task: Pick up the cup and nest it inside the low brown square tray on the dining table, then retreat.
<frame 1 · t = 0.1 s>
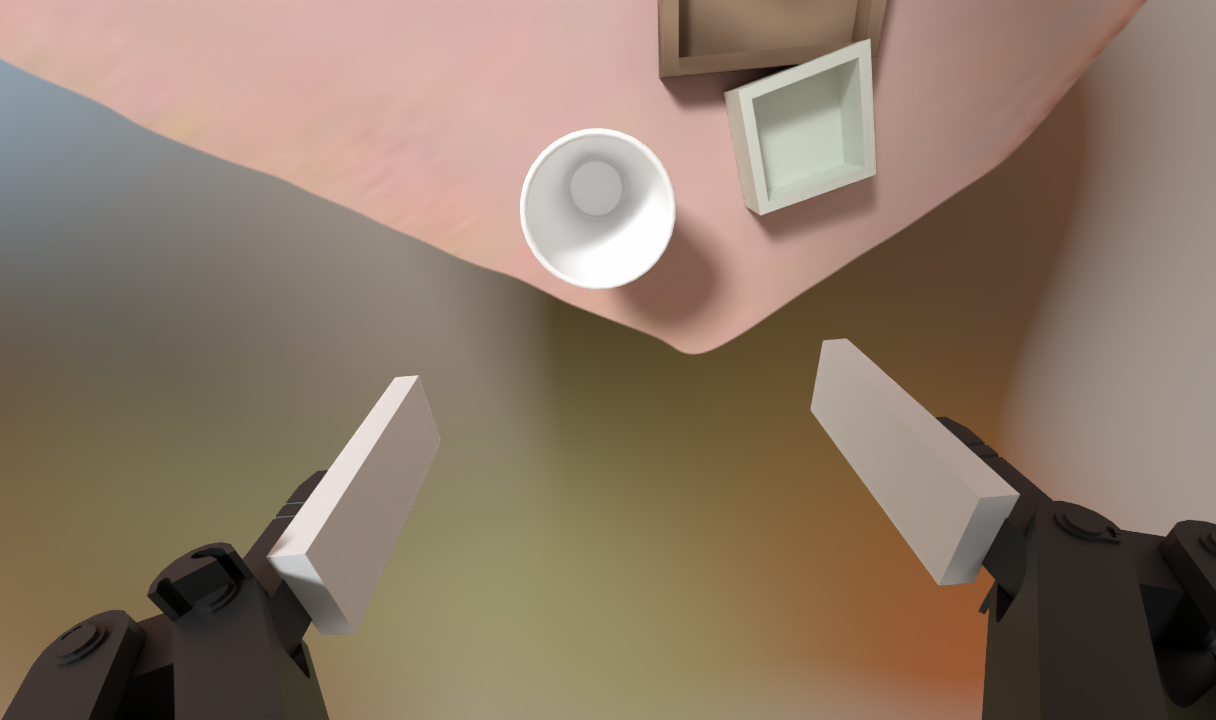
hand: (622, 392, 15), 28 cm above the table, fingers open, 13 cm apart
cup: (596, 187, 38), on the table
small crate: (789, 131, 36), on the table
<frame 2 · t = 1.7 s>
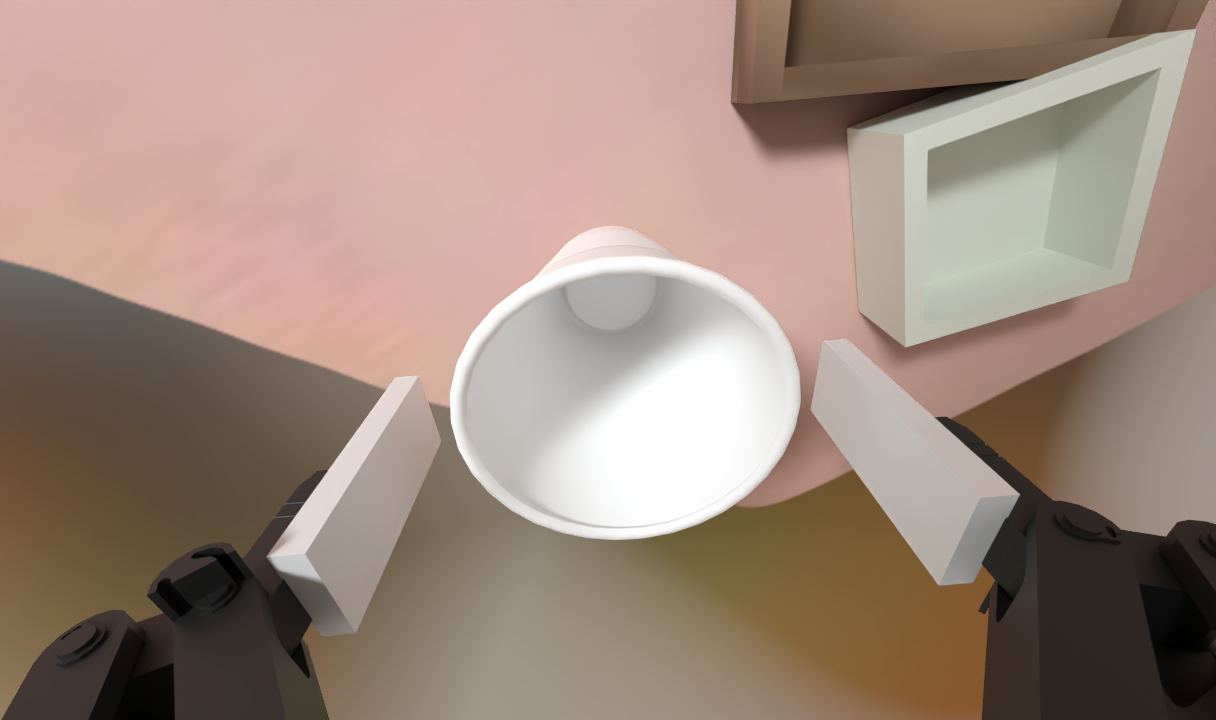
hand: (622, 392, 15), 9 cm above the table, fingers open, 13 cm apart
cup: (610, 285, 22), on the table
small crate: (953, 195, 20), on the table
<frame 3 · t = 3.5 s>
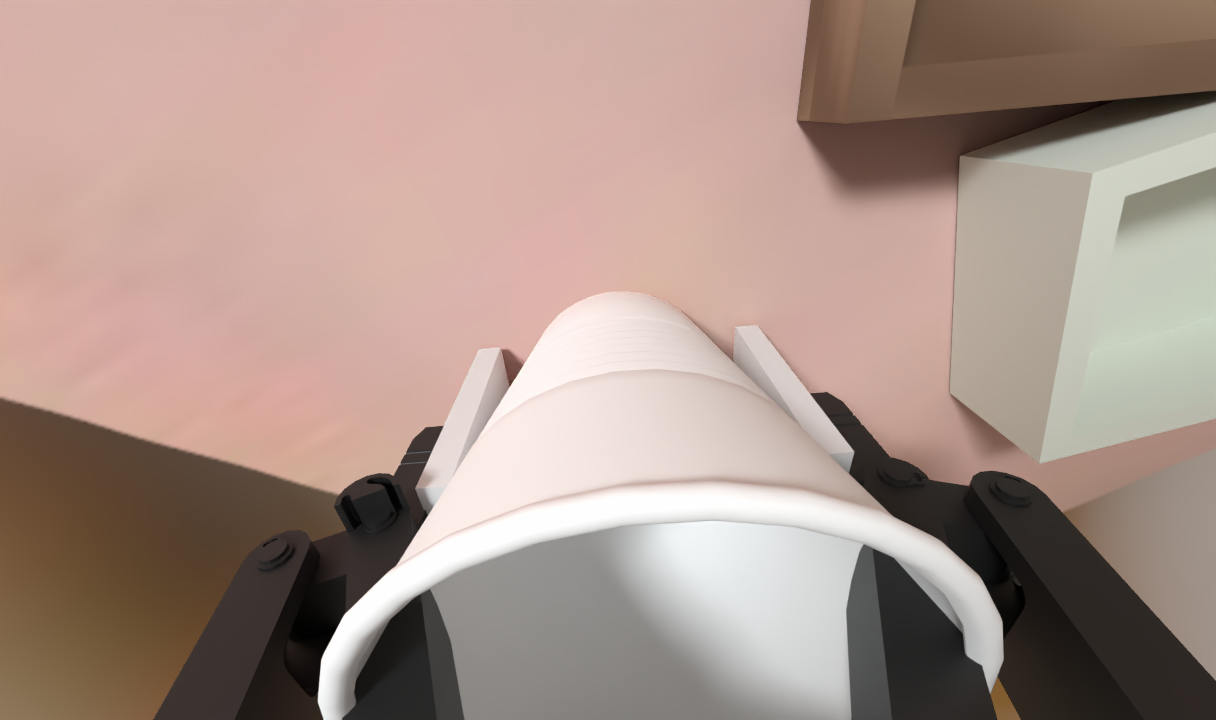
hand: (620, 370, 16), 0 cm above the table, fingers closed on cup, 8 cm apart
cup: (619, 363, 16), on the table, touching gripper
small crate: (1096, 246, 15), on the table
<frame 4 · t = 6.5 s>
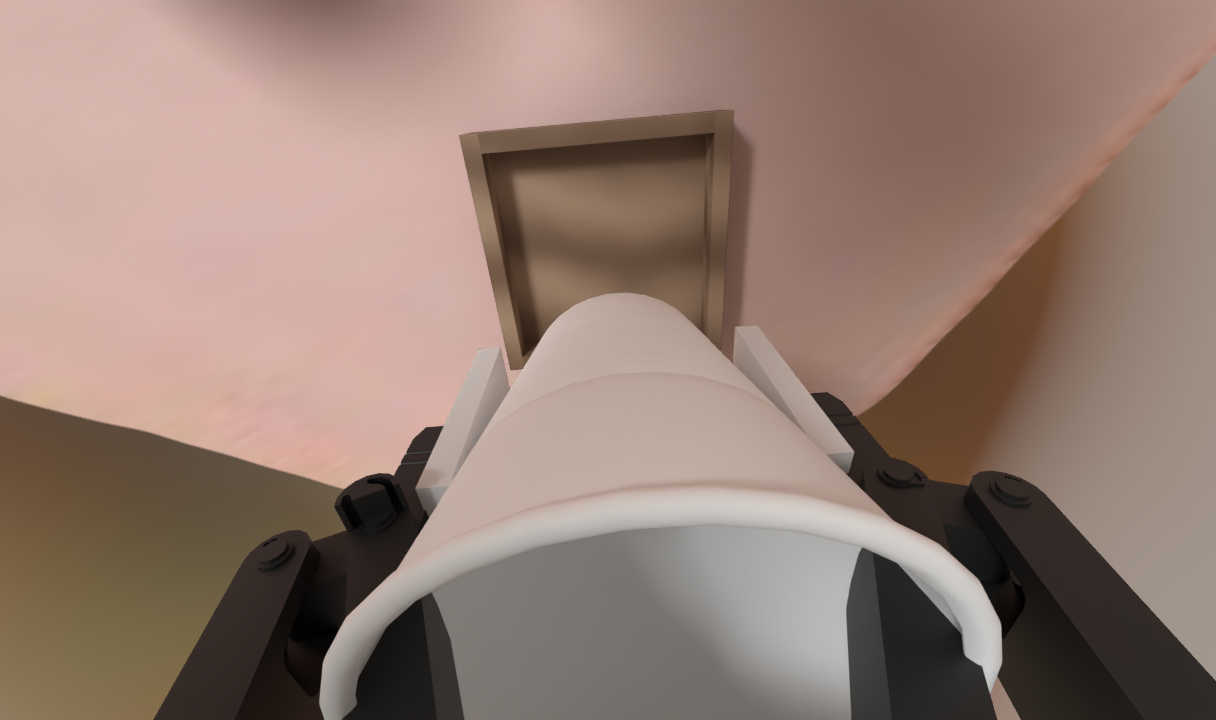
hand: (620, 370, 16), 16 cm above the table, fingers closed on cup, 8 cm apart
cup: (619, 364, 16), point 16 cm above the table, touching gripper
brown square tray: (605, 245, 30), on the table
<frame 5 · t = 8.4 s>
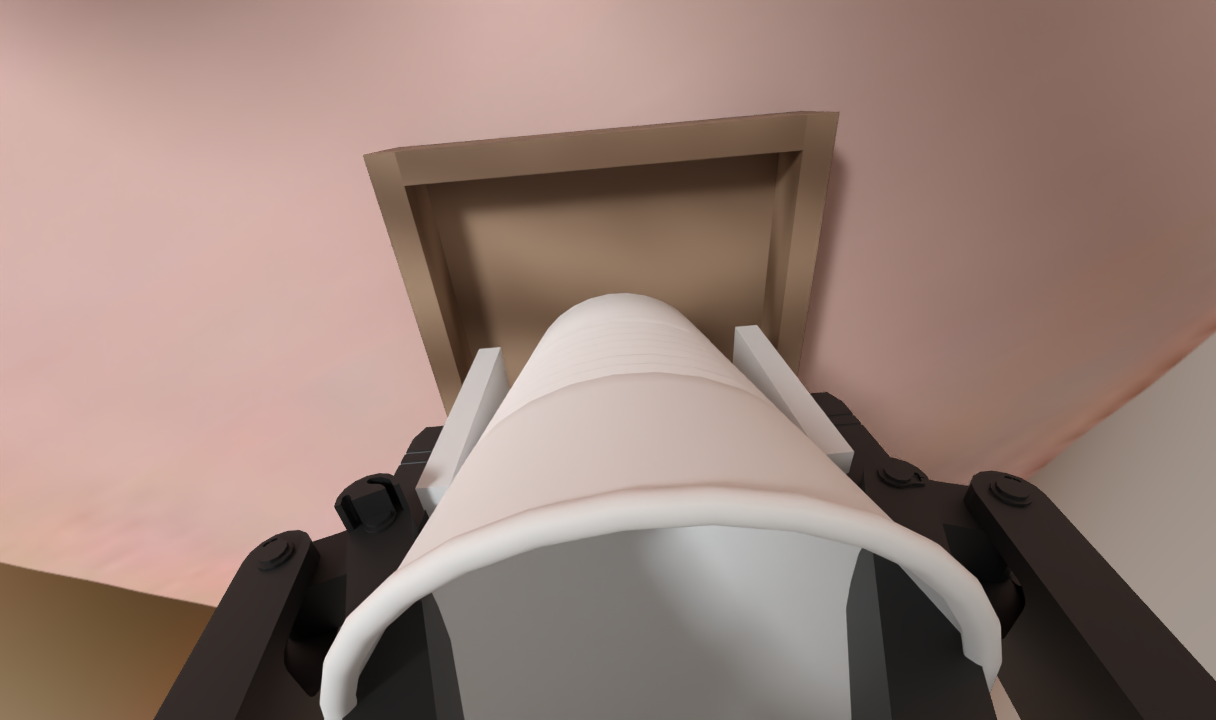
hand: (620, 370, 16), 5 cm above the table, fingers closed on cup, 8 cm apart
cup: (619, 365, 16), point 4 cm above the table, touching gripper
brown square tray: (613, 315, 20), on the table
when the fingers open (4 cm above the table, at t = 9.6 s): cup drops 2 cm, resting on brown square tray.
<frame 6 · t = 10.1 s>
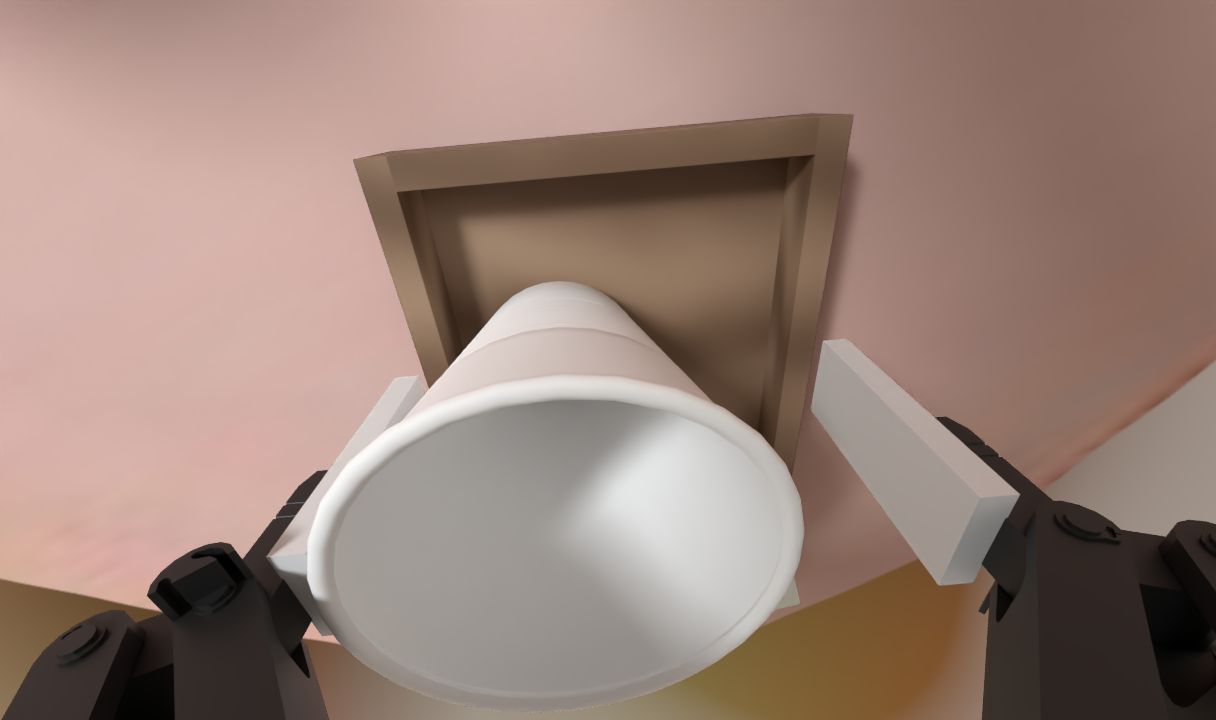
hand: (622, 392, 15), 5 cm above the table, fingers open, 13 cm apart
cup: (561, 346, 19), point 1 cm above the table, touching brown square tray, gripper
brown square tray: (615, 324, 19), on the table
small crate: (682, 510, 25), on the table
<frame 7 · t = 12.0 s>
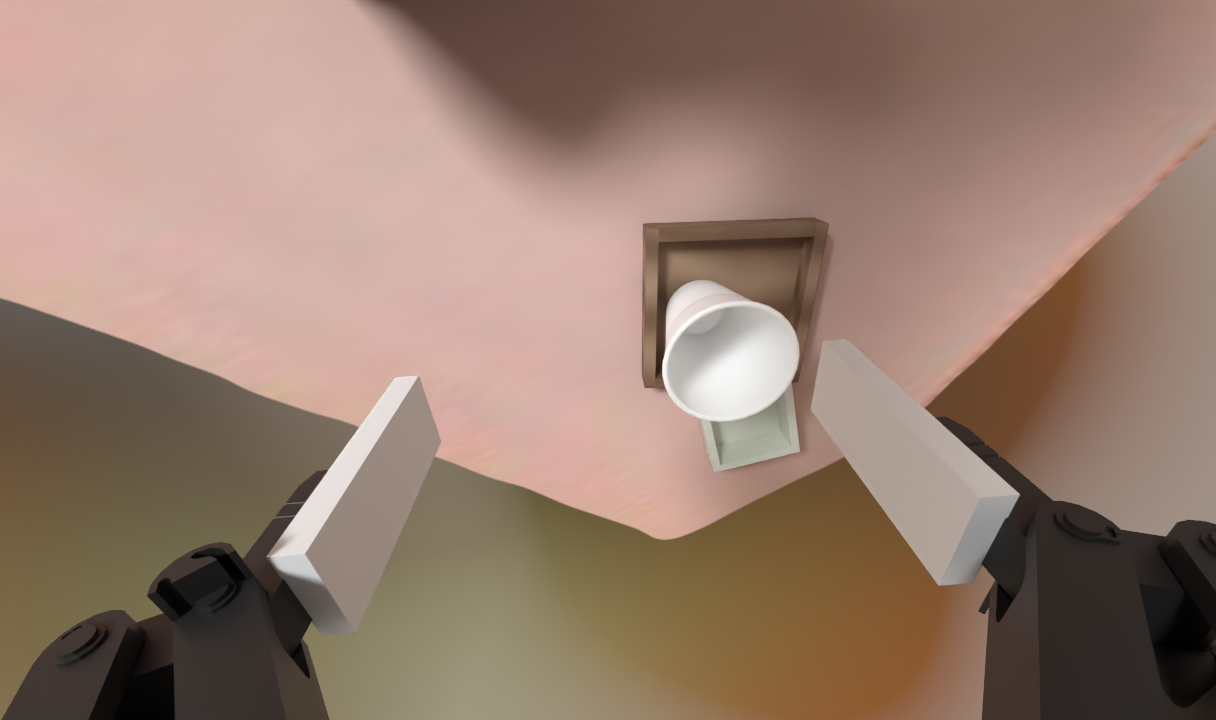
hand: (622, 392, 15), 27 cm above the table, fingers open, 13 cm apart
cup: (697, 309, 42), point 1 cm above the table, touching brown square tray
brown square tray: (721, 302, 42), on the table
small crate: (738, 406, 48), on the table
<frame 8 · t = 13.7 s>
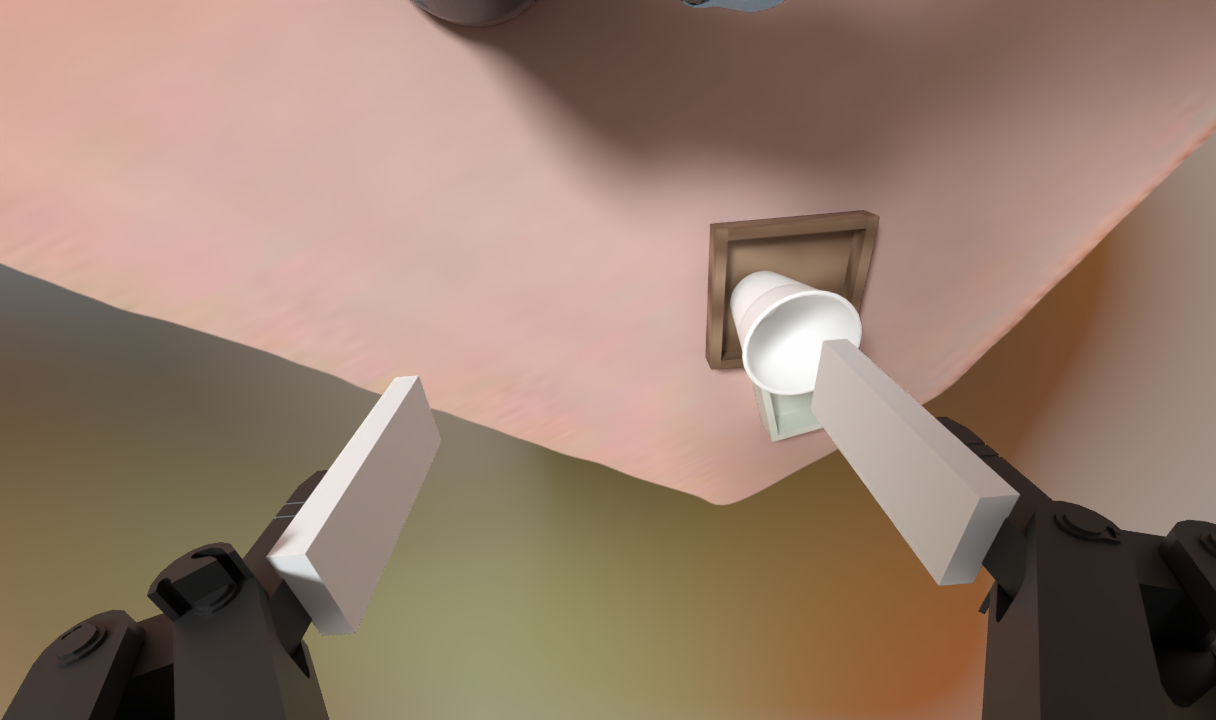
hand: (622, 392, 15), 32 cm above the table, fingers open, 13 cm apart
cup: (757, 297, 47), point 1 cm above the table, touching brown square tray
brown square tray: (778, 289, 47), on the table
small crate: (792, 382, 53), on the table
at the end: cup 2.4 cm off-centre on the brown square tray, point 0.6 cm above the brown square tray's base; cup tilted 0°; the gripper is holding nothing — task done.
